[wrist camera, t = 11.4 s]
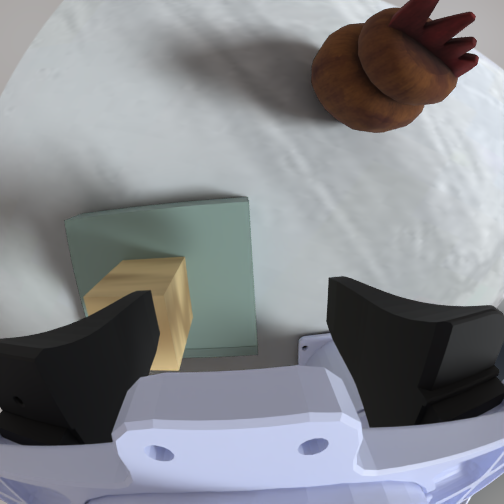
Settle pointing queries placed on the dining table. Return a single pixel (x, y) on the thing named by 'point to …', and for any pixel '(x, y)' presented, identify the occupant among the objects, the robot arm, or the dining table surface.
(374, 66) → the wooden figurine
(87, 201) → the dining table surface
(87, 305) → the block
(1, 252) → the dining table surface
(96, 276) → the green flat slab
